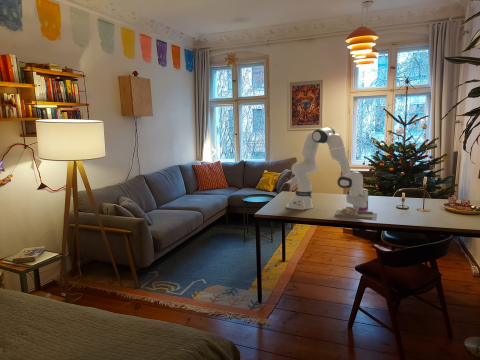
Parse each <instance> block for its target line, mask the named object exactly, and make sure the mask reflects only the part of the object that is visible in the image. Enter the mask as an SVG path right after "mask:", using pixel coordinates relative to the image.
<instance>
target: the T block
mask: <svg viewBox="0 0 480 360" xmlns="http://www.w3.org/2000/svg"><path fill="white" fill-rule="evenodd" d="M337 210H338V214H343V215H355V216H357V210H356V209H354V208H353V206H345V208H344V207H343V208H342V207H341V208H337Z"/></svg>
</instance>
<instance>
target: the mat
mask: <svg viewBox="0 0 480 360" xmlns="http://www.w3.org/2000/svg"><path fill="white" fill-rule="evenodd" d="M332 217H333V218H339V219H340V218H341V219H354V220H365V221H366V220H367V221H377V217H378V213H376V212H375V213H374V211H369V210H368V211H366V210H365V211H364V210H358V211H357V216H355V215H343V214H338V209H337V210H336V211H335V213H334V215H333V216H332Z"/></svg>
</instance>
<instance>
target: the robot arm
mask: <svg viewBox="0 0 480 360" xmlns="http://www.w3.org/2000/svg"><path fill="white" fill-rule="evenodd" d="M343 141H344V140H343V138H342V136H341V135H340V134H338V133H336V131H335V129H334V128H332V127H329V126H328V127H327V126H326V127H321V128H318V129H315V130H314V131H312V132H309V133H308V134H307V135H306V138H305V141H304V142H303V143H304V144H303V147H302V151H301V155H302V156H303V161H297V162H295V163H294V164H292V165H291V173H292V174H293V175H294V176H295V178H296V180H297V189H296V191H295V195H293V196H292V197H291V198H290V199H288V200H289V201H288V203H287V204H286V205H285V208H287V209H293V210H301V211H303V210H311V209H313V208H314V206H313V201H312V199H313V198H312V197H313V192H312V181H311V180H310V179H309V177H308V175H310V174H313V173H316V172H317V170H318V168H319V167H318V166H319V165H318V163H317V162H316V155H317V150H318V148H319V144H327V147H328V150H329V154H330V156H331V158H332V159H333V160H335V161H336V162H338V164H339V166H340V170H341V172H342V173H341V174H342V175H341V176H339V177H338V179H337V186H338V187H339V188H340V189H348V188H349V189H350V190H346V192H345V193H346V197H345V198H346V200H345V201H346V203H348V204H350V205H352V207H354V209H356V210H357V211H359V210H358V209H359V207H361V208H366V206H367V203H366V197H365V196H364V195H363V189H364V188H363V184H364V177H363V173H362V172H360V171H357V170H353V171H352V170H351V167H350V164H349V161H348V158H347V153H346V148H345V143H344V142H343Z"/></svg>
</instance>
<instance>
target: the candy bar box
mask: <svg viewBox="0 0 480 360" xmlns="http://www.w3.org/2000/svg"><path fill="white" fill-rule="evenodd" d="M363 195H364V196H365V197H366V203H367V206H366V208H361V207H359V209H358V211H364V210H365V211H366V210H368V209H369V189H368V188H363ZM352 207H353V206H352ZM353 208H354V207H353Z"/></svg>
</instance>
